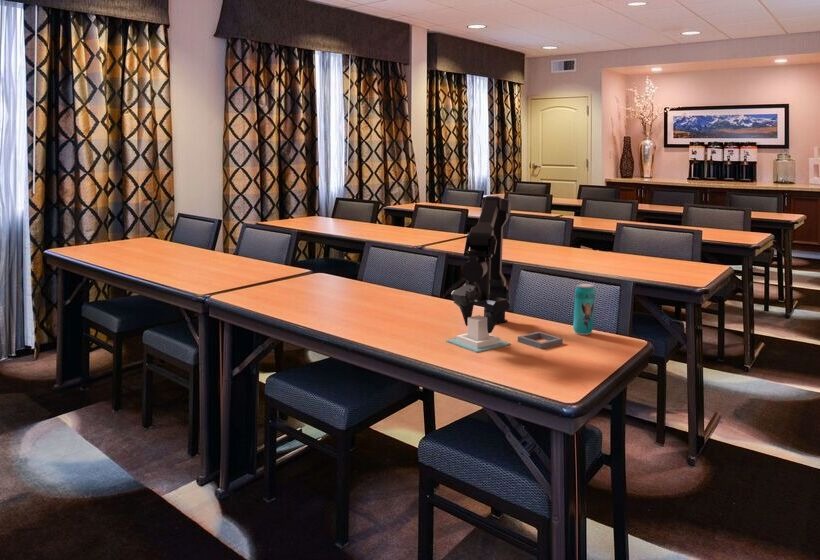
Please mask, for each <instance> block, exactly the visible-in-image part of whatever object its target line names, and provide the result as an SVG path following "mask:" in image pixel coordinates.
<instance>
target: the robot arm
mask: <svg viewBox="0 0 820 560" xmlns="http://www.w3.org/2000/svg"><path fill="white" fill-rule="evenodd" d="M480 208H481V211H480V216H479V218H478V222H477V224H475V225H474V226H472V227H471V228H470V231H469V233H468V234H467V235H466V239H465V247H464V250H463V251H464V252H463V257H468V261H467V262H465V263H464V264H463V266H462V268H461V274H462V277H463V278H464V279H465V285H462V286H460V287H459V288H457V289H454V290H452V291H451V293H450V301H453V303H454V304H455V305H456V306H458V307H459V309H460V312H461V314H462V318H463V321H464V324H465V326H466V327H467V325H468V317H473V311H474V306H475V303H478V304H481V305H483V306H484V307H483V317H486V318H487V330H488V333H489V334H492V332H493V330H494V328H495V326H496V324H501V323H506V322H508V319H506V312H507V311H509V310H510V304H511V303H510V302H511V298H510V297H511V296H510V295H511V294H510V290H509V288H508V285H507V280H506V277H505V276H504V273H503V272H502V268H503V267H502V264H503V245H504V243H503V241H504V239H503V238H504V226H505V225H506V223H507V222H508V219H509V216H510V214H511V212H512V211H511V210H512V203H511V201H510V200H509V199H507V198H502V197H501V196H499V195H498V196H497V195H494V196H493V195H487V196H486V195H485V196H484V197H483V198H482V199H481V207H480Z"/></svg>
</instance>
